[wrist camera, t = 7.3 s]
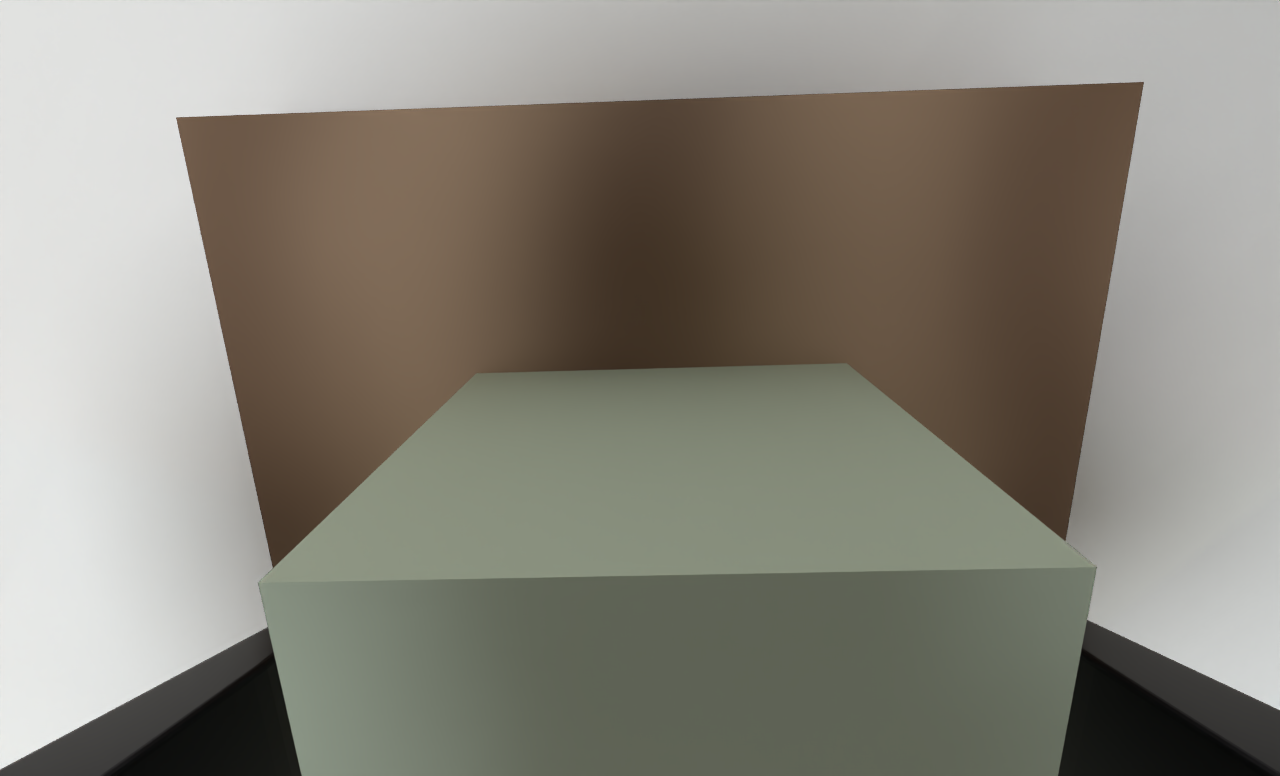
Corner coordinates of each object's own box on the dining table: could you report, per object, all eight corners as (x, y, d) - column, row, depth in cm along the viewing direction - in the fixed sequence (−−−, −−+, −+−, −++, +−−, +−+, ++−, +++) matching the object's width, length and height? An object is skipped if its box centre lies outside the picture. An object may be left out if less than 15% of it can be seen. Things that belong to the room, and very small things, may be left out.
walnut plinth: (1040, 107, 11) (1143, 82, 9) (957, 738, 15) (1014, 838, 13) (272, 134, 12) (176, 117, 9) (381, 744, 16) (331, 842, 13)
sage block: (846, 363, 10) (1098, 567, 4) (828, 675, 12) (994, 1117, 6) (476, 373, 10) (256, 583, 5) (509, 679, 12) (377, 1114, 6)
